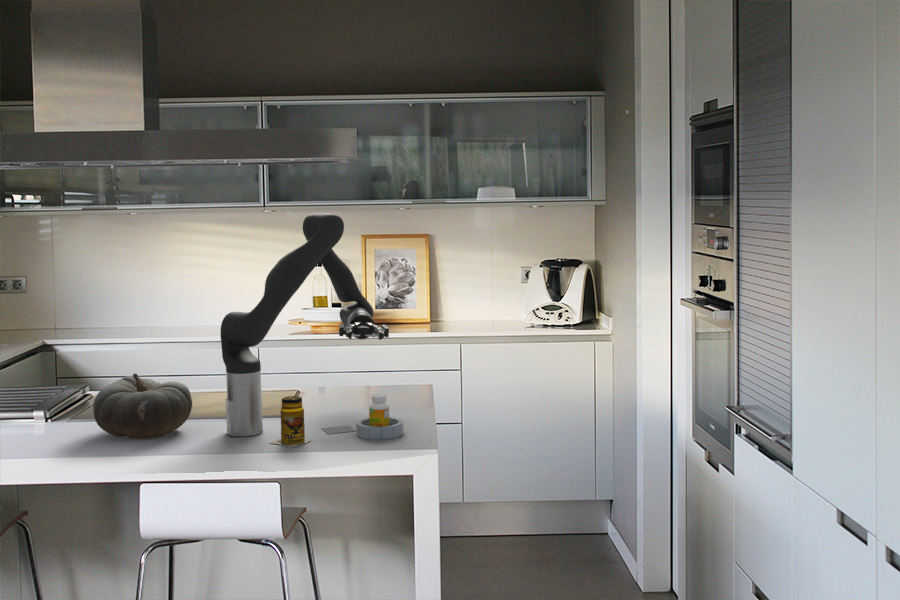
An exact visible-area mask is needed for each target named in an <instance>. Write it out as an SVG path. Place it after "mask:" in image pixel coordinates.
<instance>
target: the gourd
mask: <svg viewBox="0 0 900 600" xmlns="http://www.w3.org/2000/svg"><path fill="white" fill-rule="evenodd" d="M92 406H93V415H94V416H93V417H94V420H95V423H96V424H97V426H98V427H99V428H100V429H101V430H102V431H104V432H106V433H107V434H109V435H111V436H114V437H117V438H118V437H119V438H121V437H122V438H123V437H126V438H128V439H134V440H144V439H145V440H150V439H155V438H159V437H163V436H165V435H167V434H170V433H171V432H173V431H176V430H177V429H179V428H180V427H182V426H183V425H184V424H185V423H186V421H187V420H188V419H189V417H190V416H191V413H192V410H193V409H192V408H193V399H192V395H191V391H190V389H189V387H188V386H186V384H184V383H182V382H179V381H165V382H163V383H161V382H158V381H155V380H154V379H150V378H142V377H139V376H138V374H137V373H135V372H134V373H133V374H132V376H131V375H128V376H123V377H122V378H120V379H119V380H116V381H113V382H112V383H110V384H108V385H106V386H104V387H103V388H102V389H101V390H100V391H99V392H98V393H97V394H96V396H95V398H94V400H93V405H92Z"/></svg>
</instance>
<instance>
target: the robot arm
mask: <svg viewBox="0 0 900 600" xmlns="http://www.w3.org/2000/svg"><path fill="white" fill-rule="evenodd" d="M344 231H345V223H344V220H343V218H342V217H341V216H340V215H338V214H334V213H329V212H327V213H325V212H324V213H320V212H318V213H317V212H316V213H310V214H308V215H306V217H304V220H303V223H302V233H303V235H304V238H305V240H306V242H305V243H303V244H302V245H300V246H298V247H297V248H295V249H293V250H292V251H290V252H288V253H286V254H285V255H284V256H282V257H281V258H280V259H279V260H278V262H277V263H276V264H275V265H274V266H273V267H272V268H271V270H269V272H268V274H267V276H266V279H265V283H264V292H263V296H262V298H261V300H259V302H258V303H257V304H256V306H255V307H254V308H253V309H251V311H249V312H246V311H245V312H244V311H230V312H229V313H227V314H226V315H225V316H224V317H223V319H222V321H221V326H220V344H221V346H220V347H221V356H222V361H223V364H224V365H225V371H226V372H225V373H226V374H225V375H226V377H225V378H226V398H225V412H226V413H225V416H226V432H227V434H228V435H229V437H231V438H232V437H250V436H251V437H253V436H257V435H259V434H262V433H263V432H264V423H263V422H264V421H263V401H262V399H263V397H262V396H263V394H262V366H261V364H262V363H261V360H260V359H259V358H258V357H256V356H255V355H254V354H253V353H252V352H251V350H250V348H252V347H256V346H258V345H259V344H260V343H261V342H263V340H264V339H265V337H266V336H267V334H268V333H269V331H270V330H271V328H272V326H273V325H274V323H275V321H276V320H277V318H278V317H279V315H280V314H281V312H282V311H283V309H284V308H285V306H286V305H287V304H288V302H289V301H290V300H291V298H292V297H293V296H294V295H295V294H296V292H298V290H299V289H300V287H301V286H302V285H303V283H305V281H306V279H307V278H308V276H309V275H310V274H311V273H312V271H313V270H314V269H315V268H316V267H317V265H318V264H319V263H320V264H321V265H322V267H323V268H324V270H325V272H326V274H327V276H328V278H329V279H330V282H331V284H332V287H333V289H334V291H335V295H336V296H337V298H338V300H339V301H340V302H341V303H350V304H347V305H345V306H343V307H342V308H341V309H339V318H340V321H341V323H339V324H338V325H339V328H338V336H339V337H343V336H344V335H345V337H346V338H348V339H349V340H352V338H356V339H357V340H366V339H369V338H370V337H371V338H378V340H382V339H385V338H389V337H390V335H389V333H390V327H388V325H386V324H382V325H381V326H378V324H377V325H376V324H375V322H374V321H375V320H374V319H373V318H374V308H373V306H372V304H371V303H370V302H369V301H368V300H367V298H366V297H364V295H363V294H362V292H361V291H360V288H359V287H358V284H357V282H356V279H355V276H354V275H353V272H352V271H351V269H350V268H349V266H348V265H347V264H346V263H345V262H344V261H343V260H342V258H340V257H339V256H338V254H336V252H335V251H334V249H333V248H334V247H335V246H336V245H337V244H338V243H339V241H340V240H341V239H342V237H343V235H344ZM351 302H352V303H351Z"/></svg>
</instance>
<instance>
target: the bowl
mask: <svg viewBox="0 0 900 600" xmlns="http://www.w3.org/2000/svg"><path fill="white" fill-rule="evenodd" d="M404 427H405V426H404V420H403V419H401V418H399V417H393V416H389V426H383V427H371V426H370V422H369V417H365V418H362V419H359V420H357V422H355V430H356V431H355V433H356V436H357V437H359V438H360V439H365V440H374V441H375V440H379V441H380V440H381V441H382V440H390V439H396V438H399V437H402V436H403V434H404V431H405V430H404Z"/></svg>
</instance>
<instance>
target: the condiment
mask: <svg viewBox="0 0 900 600" xmlns="http://www.w3.org/2000/svg"><path fill="white" fill-rule="evenodd" d="M280 435H281V437H280V439H277V440H274V441H270V444H274V445H280V446H282V447H283V446H284V447H291V448H292V447H293V448H294V447H299V446H302V445H304V444H306V443H308V442H310V441H312V439H306V435H305V409H304V407H303V398H302V397H301V396H297V395H290V396H285V397H282V398H281V408H280Z"/></svg>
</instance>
